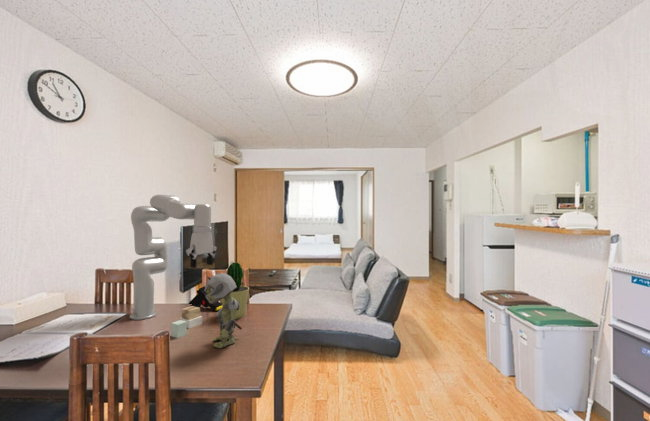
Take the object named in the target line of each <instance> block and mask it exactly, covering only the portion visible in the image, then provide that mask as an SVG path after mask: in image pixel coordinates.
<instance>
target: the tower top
mask: <svg viewBox="0 0 650 421" xmlns="http://www.w3.org/2000/svg"><path fill="white" fill-rule="evenodd" d="M200 316H201V307H194V306H190V305H189V306H188V307H184V308H181V318H183V319H187V320H191V319H194V318H197V317H200Z"/></svg>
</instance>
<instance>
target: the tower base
mask: <svg viewBox="0 0 650 421" xmlns="http://www.w3.org/2000/svg"><path fill="white" fill-rule="evenodd" d="M179 320H182V321H186V322H187V329H191V328H195V327H198V326H200V325H202V324H203V316H202V315H200V317H197V318H194V319H191V320H187V319H183V318H182V317H180V318H179ZM179 320H178V321H179Z"/></svg>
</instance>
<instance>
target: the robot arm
mask: <svg viewBox="0 0 650 421" xmlns="http://www.w3.org/2000/svg"><path fill="white" fill-rule="evenodd" d="M149 204H150V205H139V206H136V207H134V209H132V211H131V214H130V220H131V225H132V228H133V239H134V252H135V254H136V255H137V256H149V257H141V258H138V259H136V260H134V262H133V263H132V265H131V269H132V275H133V307H132V308H131V309H130V310H131V311H132V314H130V315H129V319H131V320H135V321H137V320H139V321H140V320H146V319H151V318H154V317H155V316H157V314H158V312H157V311H155V309H154V307H155V304H154V302H155V281H154V280H153V278H152V276H151V275H156V274H161V273H164V272H166V271H167V268H168V264H169V263H168V246H167V242H166V240H165V239H164V238H163V237H159V236H156V237H153V229H152V227H151V226H150V224H149V223H148V222H153V223H154V222H165V221H167V220H168V219H170V218H173V219H176V220H193V232H192V234H191V238H190V243H189V244H190V245H189V247H188V248H187V249H186V250H185V253H186V255H187V257H188V258H189V259H190V261H189V262H190V263H189V264H190V265H189V266H190V268H193V269H196V268H197V262H198V261H197V257H198V255H207V257H206V265H209V266H212V265H213V264H214V262H213V261H214V257H215V254H216V251H217V248H218V247H217V246H215V245H214V241H213V234H212V230H213V228H212V207H211V206H212V205H210V204H201V203H200V204H199V203H198V204H196V203H195V204H194V203H181V201H180V199H179V197H178V196H176V195H171V194H155V195H153V196H152V197H151V198H150V200H149ZM150 255H152V256H150ZM153 255H154V256H153Z"/></svg>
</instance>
